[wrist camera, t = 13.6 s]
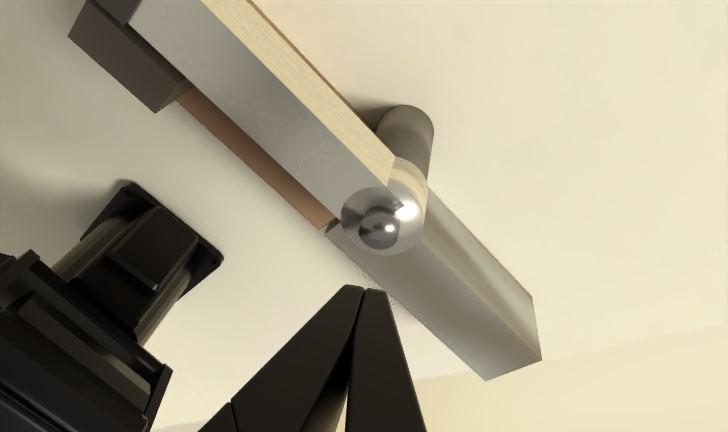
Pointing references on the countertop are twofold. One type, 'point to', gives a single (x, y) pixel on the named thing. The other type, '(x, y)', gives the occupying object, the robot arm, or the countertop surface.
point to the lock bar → (287, 114)
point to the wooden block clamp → (392, 272)
